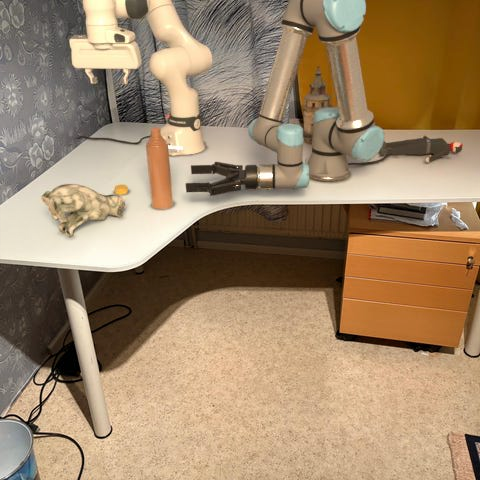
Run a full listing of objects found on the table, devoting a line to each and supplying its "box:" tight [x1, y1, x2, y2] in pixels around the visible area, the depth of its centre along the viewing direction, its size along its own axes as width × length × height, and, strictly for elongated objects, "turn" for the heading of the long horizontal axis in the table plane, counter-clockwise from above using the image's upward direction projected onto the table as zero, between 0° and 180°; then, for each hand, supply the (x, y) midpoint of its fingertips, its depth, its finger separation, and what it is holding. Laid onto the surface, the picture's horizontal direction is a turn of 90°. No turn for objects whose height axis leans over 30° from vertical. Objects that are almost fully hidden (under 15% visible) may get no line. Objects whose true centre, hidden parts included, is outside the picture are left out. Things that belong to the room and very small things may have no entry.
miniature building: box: [301, 65, 333, 144], centre depth 213 cm, size 13×14×30 cm
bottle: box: [145, 126, 174, 210], centre depth 163 cm, size 7×7×25 cm
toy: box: [379, 135, 464, 163], centre depth 203 cm, size 26×6×30 cm
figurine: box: [40, 183, 126, 238], centre depth 153 cm, size 10×19×20 cm
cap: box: [114, 184, 129, 196], centre depth 177 cm, size 4×4×2 cm
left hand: (109, 83), depth 160 cm, fingers open, 8 cm apart
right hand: (188, 178), depth 164 cm, fingers open, 13 cm apart
